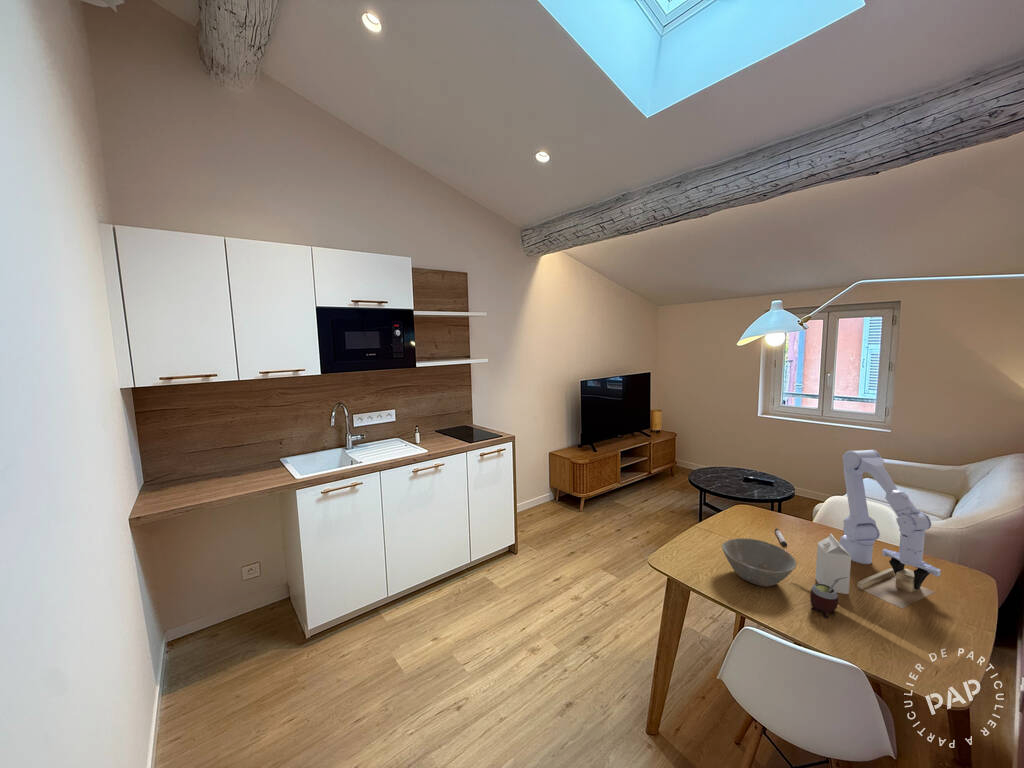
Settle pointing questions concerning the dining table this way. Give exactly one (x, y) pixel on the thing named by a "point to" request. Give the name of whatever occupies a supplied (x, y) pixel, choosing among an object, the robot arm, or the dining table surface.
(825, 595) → the mate gourd
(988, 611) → the dining table surface
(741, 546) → the ceramic bowl
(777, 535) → the marker
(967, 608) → the dining table surface
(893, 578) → the pale wooden board
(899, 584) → the block
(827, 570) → the milk carton
